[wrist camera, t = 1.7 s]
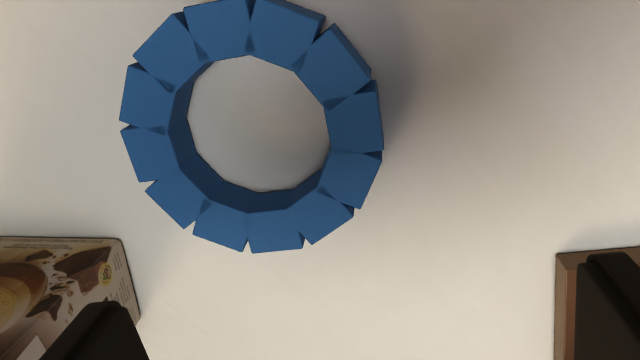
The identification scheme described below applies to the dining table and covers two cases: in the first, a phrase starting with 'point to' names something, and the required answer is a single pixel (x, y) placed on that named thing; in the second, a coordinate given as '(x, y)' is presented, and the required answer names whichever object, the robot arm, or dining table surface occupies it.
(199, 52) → the collar
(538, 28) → the dining table surface
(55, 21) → the dining table surface
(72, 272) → the coffee box
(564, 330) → the peg on square base
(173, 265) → the dining table surface
